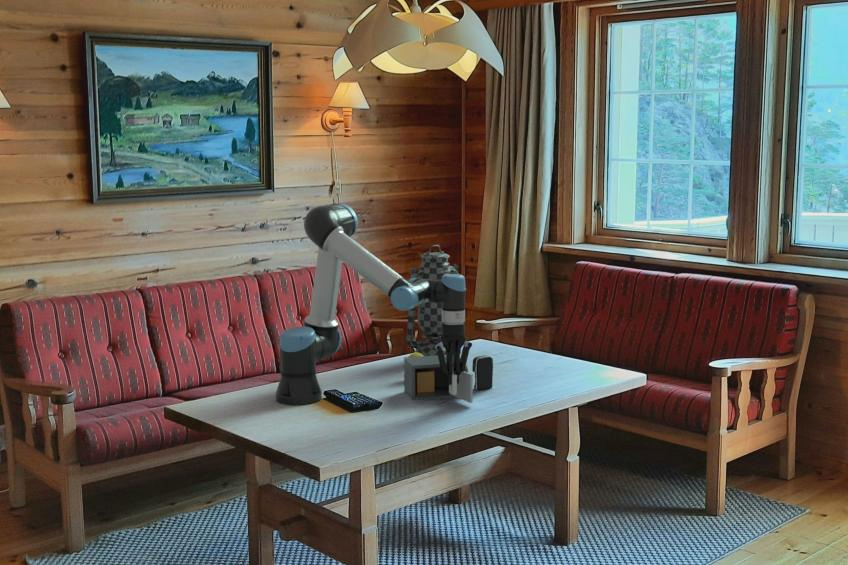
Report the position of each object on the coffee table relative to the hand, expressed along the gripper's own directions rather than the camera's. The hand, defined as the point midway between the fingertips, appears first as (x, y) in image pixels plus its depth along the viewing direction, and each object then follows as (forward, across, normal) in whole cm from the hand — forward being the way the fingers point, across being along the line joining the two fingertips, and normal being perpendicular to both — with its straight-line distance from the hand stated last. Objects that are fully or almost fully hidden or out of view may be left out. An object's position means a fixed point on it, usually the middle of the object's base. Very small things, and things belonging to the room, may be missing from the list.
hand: (452, 393), depth 330 cm
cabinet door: (+3, +4, +2) cm, 6 cm away
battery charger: (+4, +19, +15) cm, 24 cm away
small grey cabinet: (+4, +1, +15) cm, 15 cm away
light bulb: (+4, +3, +35) cm, 35 cm away
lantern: (+4, +21, +57) cm, 61 cm away
